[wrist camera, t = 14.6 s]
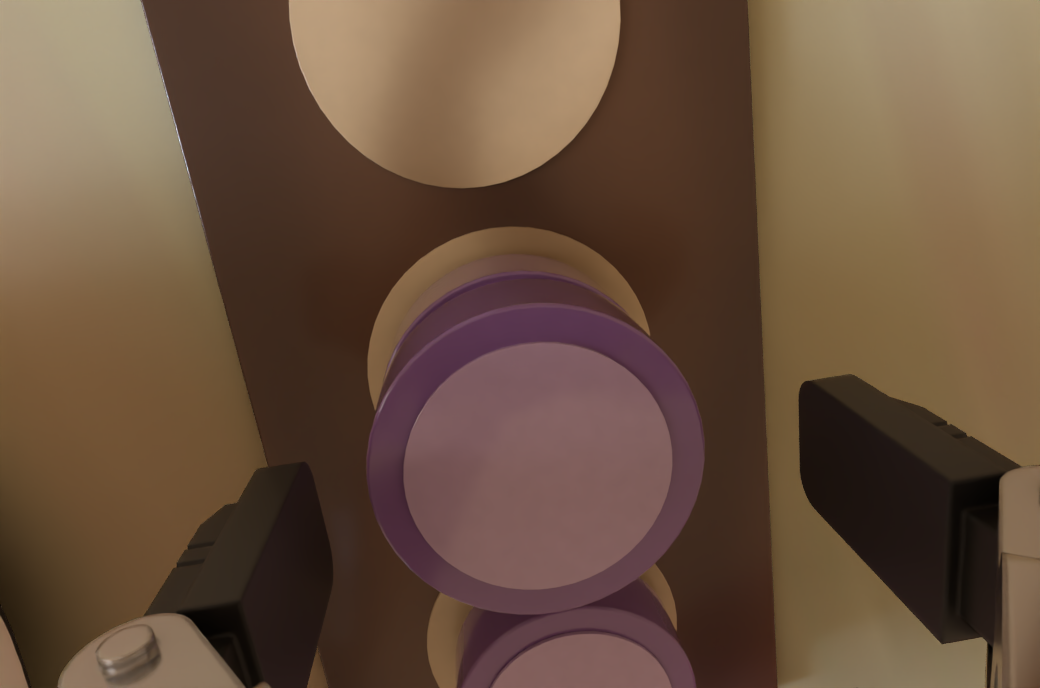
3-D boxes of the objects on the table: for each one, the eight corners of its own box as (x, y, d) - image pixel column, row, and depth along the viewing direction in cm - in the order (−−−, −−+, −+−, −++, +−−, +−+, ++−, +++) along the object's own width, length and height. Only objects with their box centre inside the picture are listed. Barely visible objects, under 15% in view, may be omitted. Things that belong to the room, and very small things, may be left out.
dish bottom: (414, 498, 17) (409, 560, 15) (366, 271, 16) (351, 298, 13) (642, 458, 18) (674, 512, 15) (618, 231, 16) (650, 250, 13)
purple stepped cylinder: (409, 560, 15) (401, 646, 12) (351, 298, 13) (329, 337, 11) (674, 512, 15) (718, 587, 13) (650, 250, 13) (696, 277, 11)
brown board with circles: (355, 768, 20) (353, 784, 20) (111, -132, 14) (98, -142, 13) (772, 688, 21) (780, 701, 20) (731, -212, 14) (740, -224, 14)
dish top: (472, 742, 20) (476, 831, 17) (438, 565, 18) (436, 635, 15) (673, 703, 20) (706, 785, 17) (658, 527, 18) (691, 589, 16)
